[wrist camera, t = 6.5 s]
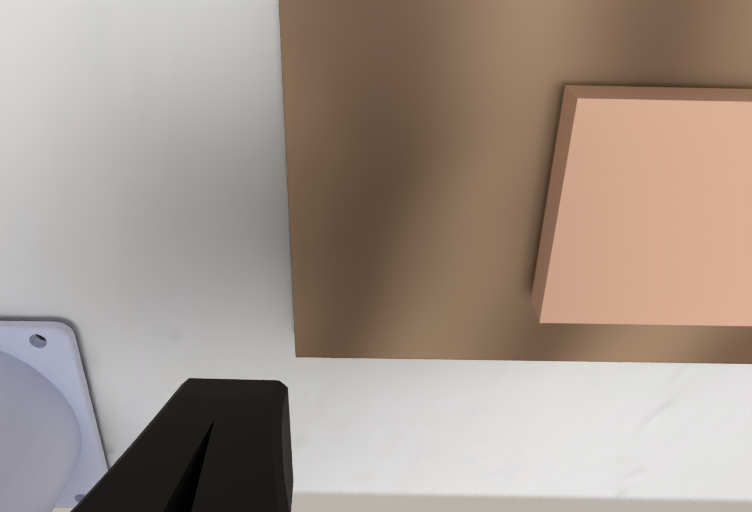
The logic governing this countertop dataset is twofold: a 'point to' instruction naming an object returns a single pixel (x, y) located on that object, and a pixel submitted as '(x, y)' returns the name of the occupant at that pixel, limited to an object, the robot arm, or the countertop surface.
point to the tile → (649, 209)
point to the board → (467, 166)
